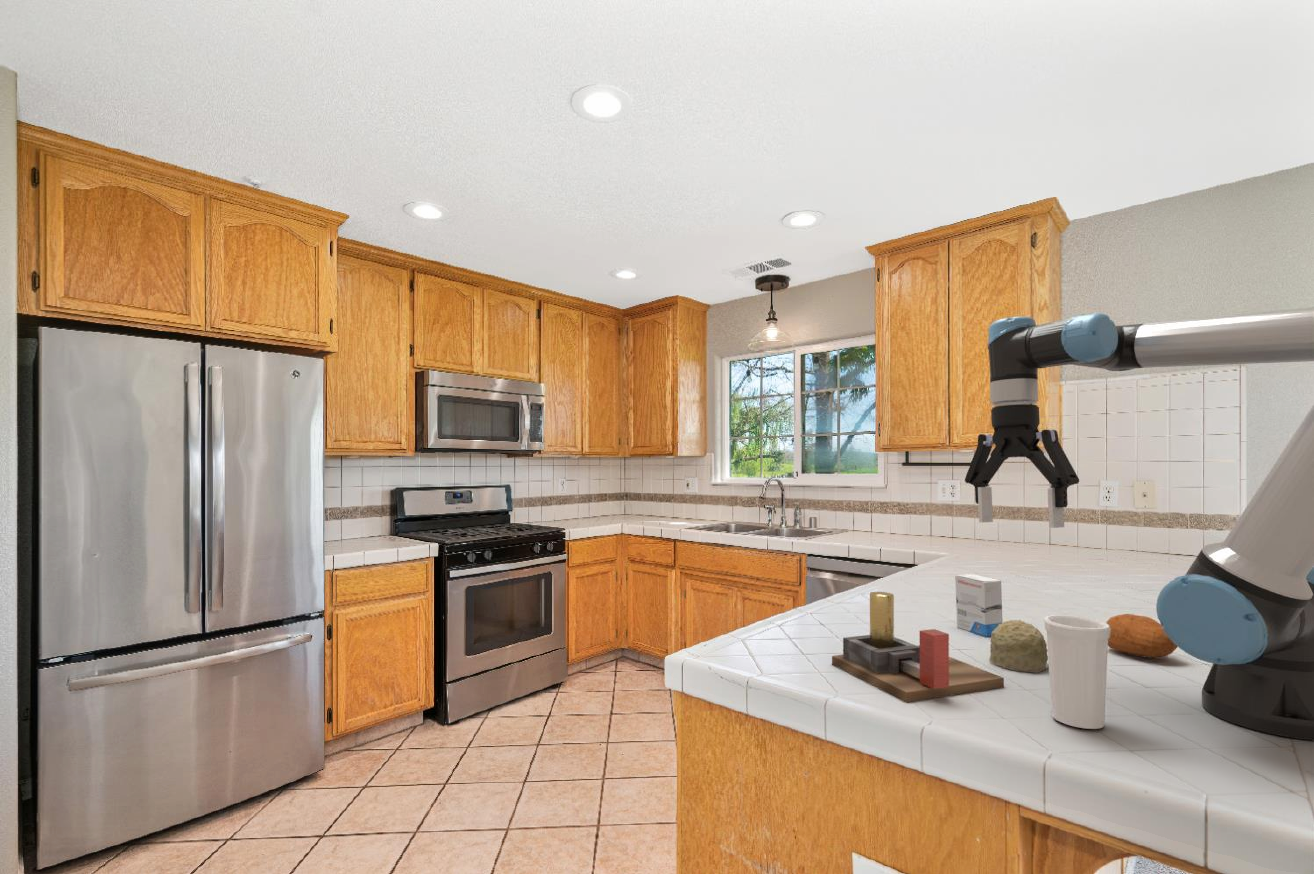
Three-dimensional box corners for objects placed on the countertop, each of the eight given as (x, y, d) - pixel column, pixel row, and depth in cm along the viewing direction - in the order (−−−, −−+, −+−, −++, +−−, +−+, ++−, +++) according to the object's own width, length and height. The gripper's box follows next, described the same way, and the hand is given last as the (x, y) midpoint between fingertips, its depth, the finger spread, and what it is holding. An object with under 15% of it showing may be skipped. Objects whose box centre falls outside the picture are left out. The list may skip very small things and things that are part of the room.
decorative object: (1040, 695, 111) (1072, 647, 111) (988, 659, 113) (1019, 613, 113) (1018, 681, 120) (1047, 638, 120) (970, 649, 122) (999, 606, 122)
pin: (949, 686, 100) (948, 633, 100) (933, 688, 99) (933, 635, 99) (903, 666, 109) (903, 618, 109) (889, 668, 108) (889, 619, 108)
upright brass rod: (899, 664, 111) (898, 595, 111) (880, 667, 110) (880, 597, 110) (883, 657, 115) (883, 591, 115) (865, 660, 113) (865, 592, 114)
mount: (1003, 686, 105) (1003, 656, 105) (906, 702, 98) (906, 669, 98) (919, 653, 123) (919, 627, 123) (832, 664, 116) (832, 636, 116)
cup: (1031, 711, 95) (1030, 614, 95) (1083, 710, 95) (1082, 614, 96) (1070, 735, 87) (1069, 629, 87) (1127, 734, 87) (1125, 628, 88)
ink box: (1004, 635, 135) (1003, 580, 136) (985, 637, 134) (984, 581, 134) (972, 625, 143) (972, 573, 144) (954, 627, 142) (954, 574, 142)
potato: (1130, 645, 129) (1130, 608, 129) (1190, 663, 118) (1190, 622, 118) (1095, 649, 126) (1095, 611, 126) (1153, 667, 115) (1153, 625, 116)
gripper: (1100, 398, 104) (1106, 528, 103) (970, 412, 127) (974, 519, 126) (1069, 396, 101) (1076, 530, 100) (942, 411, 124) (946, 520, 123)
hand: (1019, 524), depth 113 cm, fingers open, 13 cm apart
